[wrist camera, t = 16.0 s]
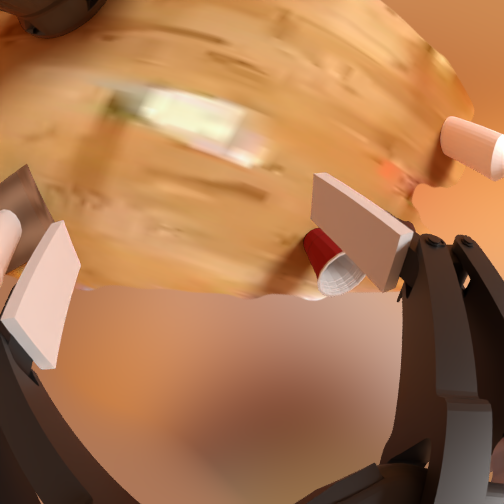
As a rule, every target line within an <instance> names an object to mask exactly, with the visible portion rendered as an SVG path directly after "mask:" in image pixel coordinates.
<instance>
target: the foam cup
mask: <svg viewBox="0 0 504 504" xmlns="http://www.w3.org/2000/svg"><path fill="white" fill-rule="evenodd" d="M21 233H22V228H21V224H20V221H19V219H18V218H17V216H16V215H15V214H14V213H13V212H11V211H10V210H5V209H3V210H1V211H0V288H1V287H2V285H3V279H4V276H5V273H6V271H7V268H8V266H9V263H10V261H11V258H12V256H13V254H14V251H15V249H16V247H17V245H18V243H19V240H20V238H21Z"/></svg>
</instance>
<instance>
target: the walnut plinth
mask: <svg viewBox="0 0 504 504" xmlns="http://www.w3.org/2000/svg"><path fill="white" fill-rule="evenodd" d="M3 209H5V210H10V211H11V212H13V213H14V214H15V215H16V216H17V218H18V219H19V221H20V224H21V228H22V233H21V238H20V240H19V243H18V245H17V247H16V249H15V251H14V254H13V256H12V258H11V261H10V263H9V266H8V268H7V271H6V273H5V274H7V273H9V272H10V271H12V270H14V269H16V268H17V267H19V266H21V265H23V264H24V263H26V262H28V261H29V259H30V258H31V256H32V254H33V252H34V251H35V249H36V247H37V246H38V244H39V242H40V241H41V239H42V238H43V236H44V234H45V233H46V231H47V230H48V228H49V227H50V225H51V224H52V223H55V222H54V220H53V218H52V216H51V214H50V212H49V210H48V209H47V207H46V205H45V203H44V201H43V199H42V196H41V194H40V192H39V190H38V188H37V186H36V184H35V181H34V179H33V177H32V175H31V172H30V170H29V167H28V165H27V164H26V165H25V166H23V167H22V168H20V169H19V170H17V171H16V172H15V173H13V174H12V175H11V176H9V177H8V178H7V179H5V180H4V181H3V182H1V183H0V211H1V210H3Z"/></svg>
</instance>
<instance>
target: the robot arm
mask: <svg viewBox="0 0 504 504" xmlns="http://www.w3.org/2000/svg"><path fill="white" fill-rule="evenodd" d="M106 1H107V0H0V10H1V11H4V12H7V13H10V14H13V15H16V16H17V17H18V19H19V22H20V24H21V26H22V28H23V29H24V30H25V31H26V32H27V33H29V34H31V35H33V36H36V37H39V38H54V37H59V36H62V35H64V34H67V33H69V32H71V31H73V30H75V29H77V28H78V27H80V26H81V25H83V24H84V23H86V22H87V21H88V20H89V19H90V18H92V17H93V16H94V15H95V14H96V13H97V12H98V11H99V10H100V9H101V7H102V6H103V5H104V3H105V2H106ZM311 220H312V221H313V222H314V223H315V224H316V225H318V226H319V227H320V228H321V229H322V230H323V231H324V232H325V233H326V234H327V235H328V236H329V237H330V238H331V239H332V240H333V241H334V242H335V243H336V244H337V245H338V246H339V247H340V248H341V249H342V250H343V251H344V252H345V253H346V255H347V256H348V257H349V258H350V259H351V260H352V261H353V262H354V263H355V264H356V265H357V266H358V267H359V268H360V269H361V270H362V271H363V272H364V273H365V274H366V275H367V277H368V278H369V279H370V280H371V281H372V282H373V283H374V284H375V285H376V286H377V287H378V288H379V290H380V291H381V292H382V293H383V292H386V291H389V290H391V289H394V288H395V287H396V285H397V282H398V279H399V276H400V277H401V278H402V279H403V280H404V284H403V286H402V289H401V291H400V294H399V296H398V299H397V302H399V301H400V299H401V298H402V300H403V301H402V307H403V330H402V331H403V332H402V357H401V372H400V382H399V392H398V400H397V407H396V415H395V420H394V426H393V431H392V434H391V436H390V438H389V440H388V442H387V443H386V445H385V447H384V450H383V453H382V456H381V460H380V464H379V465H377V466H376V464H375V463H373V464H371V465H369V466H367V467H365V468H363V469H361V470H359V471H357V472H355V473H353V474H350V475H348V476H346V477H344V478H342V479H340V480H338V481H335V482H333V483H331V484H328V485H326V486H324V487H321V488H319V489H317V490H315V491H313V492H312V493H311V494H309V495H307V496H306V497H304V498H303V499H301V500H300V501H298V502H296V503H295V504H504V281H503V280H502V278H501V276H500V275H499V273H498V272H497V270H496V269H495V267H494V266H493V265H492V263H491V262H490V260H489V259H488V258H487V256H486V255H485V253H484V252H483V251H482V249H481V248H480V247H479V245H478V244H477V243H476V242H475V241H474V240H472V239H471V238H470V237H467V236H466V235H465V236H464V235H457V236H456V237H455V240H454V243H453V245H446V243H445V242H444V241H443V240H442V239H440V238H439V237H437V236H434V235H432V234H422V235H421V236H420V235H419V234H417V233H416V232H415V231H413V230H412V229H411V228H409V227H408V226H407V225H405V224H404V223H403V222H401V221H400V220H399V219H397V218H395V217H394V216H393V215H392V214H390V213H389V212H387V211H385V210H383V209H382V208H380V207H379V206H377V205H376V204H374V203H373V202H371V201H370V200H368V199H367V198H365V197H364V196H362V195H361V194H359V193H358V192H356V191H355V190H353V189H352V188H350V187H349V186H347V185H345V184H344V183H342V182H341V181H339V180H337V179H336V178H334V177H333V176H331V175H329V174H328V173H326V172H325V173H314V177H313V193H312V208H311ZM80 266H81V264H80V261H79V259H78V257H77V254H76V252H75V249H74V247H73V245H72V242H71V239H70V237H69V234H68V232H67V229H66V226H65V223H64V220H62V221H58V222H55V223H52V224H51V225H50V227H49V228H48V230H47V231H46V233H45V234H44V236H43V238H42V239H41V241H40V242H39V244H38V246H37V247H36V249H35V251H34V252H33V254H32V256H31V258H30V259H29V261H28V263H27V265H26V267H25V268H24V270H23V272H22V274H21V276H20V278H19V280H18V282H17V283H16V285H15V286H14V287H13V288H12V290H11V292H10V294H9V296H8V299H7V301H6V303H5V306H4V307H3V310H2V312H1V314H0V504H41V503H40V501H39V499H38V497H37V495H38V496H39V498H40V499H41V501H42V502H43V503H44V504H140V503H139V502H138V501H136V500H135V499H134V498H133V497H132V496H131V495H130V494H129V493H128V492H127V491H126V490H124V489H123V488H122V487H121V486H120V485H119V484H118V483H117V482H116V481H115V480H114V479H113V478H112V477H111V476H110V475H109V474H108V473H107V471H106V470H105V469H104V468H103V467H102V466H101V465H100V464H99V463H98V462H97V460H96V459H95V458H94V457H93V456H92V455H91V454H90V452H89V451H88V450H87V449H86V448H85V447H84V445H83V444H82V443H81V441H80V440H79V439H78V437H77V436H76V435H75V434H74V432H73V431H72V429H71V428H70V427H69V425H68V424H67V423H66V421H65V420H64V418H62V415H61V414H60V413H59V411H58V409H57V408H56V406H55V405H54V403H53V402H52V400H51V398H50V397H49V395H48V393H47V392H46V390H45V388H44V387H43V385H42V383H41V382H40V380H39V378H38V376H37V374H36V373H35V372H34V371H33V370H32V369H31V366H32V362H33V361H34V362H35V363H36V365H37V366H38V367H39V368H40V369H41V370H42V369H55V368H56V362H57V356H58V351H59V345H60V340H61V336H62V331H63V326H64V322H65V318H66V314H67V310H68V306H69V303H70V299H71V295H72V292H73V289H74V285H75V282H76V279H77V276H78V273H79V269H80ZM467 275H469V277H470V282H469V284H468V286H467V288H466V289H465V287H464V286H463V284H464V282H465V279H466V277H467ZM428 462H429V466H428V469H427V468H424V467H425V465H426V464H427V463H428ZM492 471H493V477H492V481H491V482H488V480H489V472H492ZM36 493H37V494H36Z"/></svg>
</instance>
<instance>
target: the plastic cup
mask: <svg viewBox="0 0 504 504" xmlns="http://www.w3.org/2000/svg"><path fill="white" fill-rule="evenodd" d="M303 244H304V248H305V251H306V253H307V255H308V258H309V260H310V262H311V265H312V267H313V269H314V271H315V273H316V276H317V279H318V280H317V283H318V290H319V291H320V292H321V293H322V294H323V295H326V296H331V297H332V296H338V295H342V294H344V293H346V292H348V291H350V290H352V289H353V288H354V287H356V286H357V285H358V284H359V283H360V282H361V281H362V280H363V278H364V277H365V276H366V274H365V273H364V272H363V271H362V270H361V269H360V268H359V267H358V266H357V265H356V264H355V263H354V262H353V261H352V260H351V259H350V258H349V257H348V256H347V255H346V253H345V252H344V251H343V250H342V249H341V248H340V247H339V246H338V245H337V244H336V243H335V242H334V241H333V240H332V239H331V238H330V237H329V236H328V235H327V234H326V233H325V232H324V231H323V230H322V229H321V228H316V229H313V230H311V231H310V232H309V233H308V234H307V235H306V237H305V238H304V243H303Z"/></svg>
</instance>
